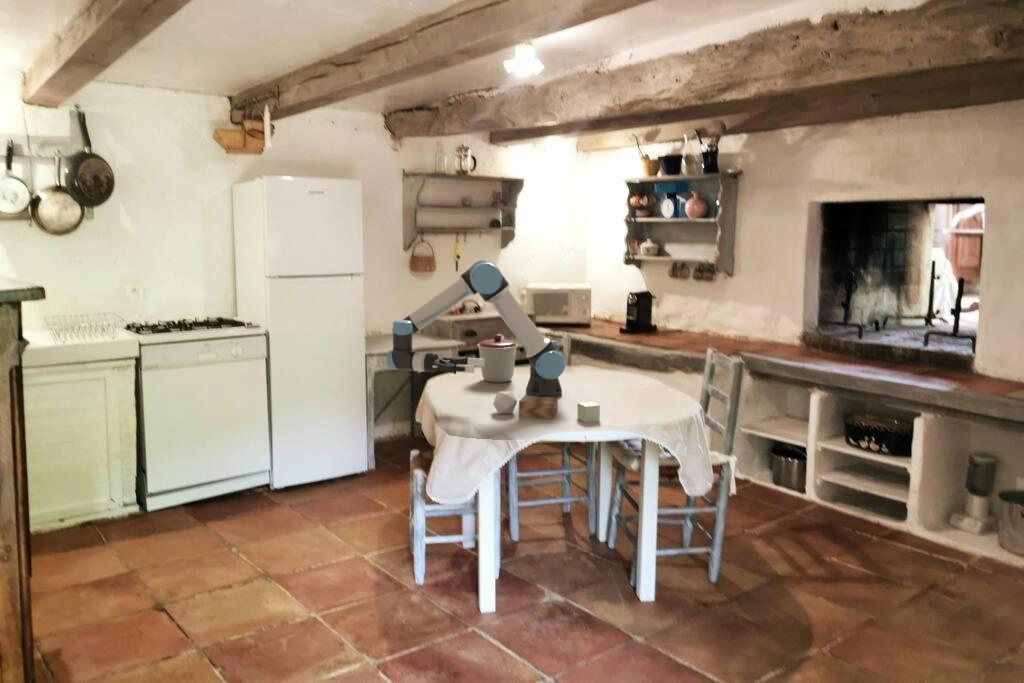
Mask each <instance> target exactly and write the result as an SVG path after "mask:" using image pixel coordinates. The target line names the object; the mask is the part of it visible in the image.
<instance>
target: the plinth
mask: <svg viewBox="0 0 1024 683" xmlns="http://www.w3.org/2000/svg"><path fill="white" fill-rule="evenodd" d="M558 403H559V397H558V398H553V397H537V396H526V395H523V397H522V398H521V399H520V400H519V401H518V417H519V418H530V419H531V418H532V419H545V420H554V419H555V418H556V416H557V415H558V414H559V412H558V408H559V404H558Z"/></svg>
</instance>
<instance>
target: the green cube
mask: <svg viewBox="0 0 1024 683" xmlns="http://www.w3.org/2000/svg"><path fill="white" fill-rule="evenodd" d="M600 411H601V405H600V404H599V403H596V402H594V401H584V402H577V413H576V414H577V416H576V417H577V419H578V420H579V419H580V420H579V421H581V420H582V421H581V422H583V421H584V423H592V422H591V421H594V422H600V420H601V419H600V415H601V412H600Z"/></svg>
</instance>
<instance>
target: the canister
mask: <svg viewBox="0 0 1024 683" xmlns="http://www.w3.org/2000/svg"><path fill="white" fill-rule="evenodd" d="M518 344H519V343H517V342H515V341H513V340H510V339H505V338H504V339H503V338H502V335H501V334H494V336H493V339H486V340H483V341H482V340H481V341H480V342H479V343H477V347H478V354H479V359H484V366H480V370H481V376H482V378H483V380H484V381H486V382H489V383H493V384H494V383H508V382H510V381H511V380H512V379H513V376H514V370H515V364H516V362H515V360H516V354H517V348H518V347H519V345H518Z"/></svg>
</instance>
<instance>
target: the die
mask: <svg viewBox="0 0 1024 683" xmlns="http://www.w3.org/2000/svg"><path fill="white" fill-rule="evenodd" d="M517 403H518V400H517V398H516V396H514V394H513V392H512V390H511V391H510V390H509V391H497V393H496V395H495V398H494V399H493V404H492V405H493V406H494V408H495V409H496V412H497V413H498V414H499V415H507V414H508V415H512V413H514V411H515V409H516V406H517Z"/></svg>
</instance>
